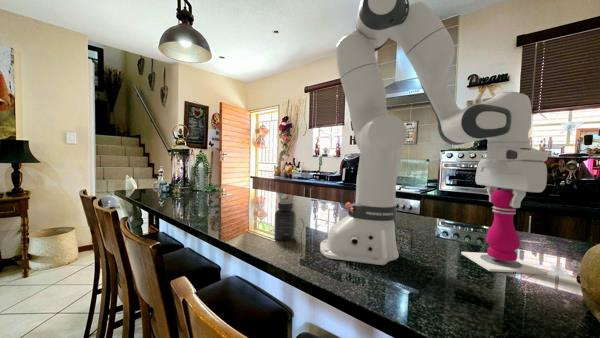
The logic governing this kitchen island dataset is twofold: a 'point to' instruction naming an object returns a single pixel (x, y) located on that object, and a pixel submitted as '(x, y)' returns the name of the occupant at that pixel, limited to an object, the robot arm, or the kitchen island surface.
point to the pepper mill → (503, 227)
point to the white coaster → (502, 264)
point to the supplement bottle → (284, 222)
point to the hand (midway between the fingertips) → (503, 204)
